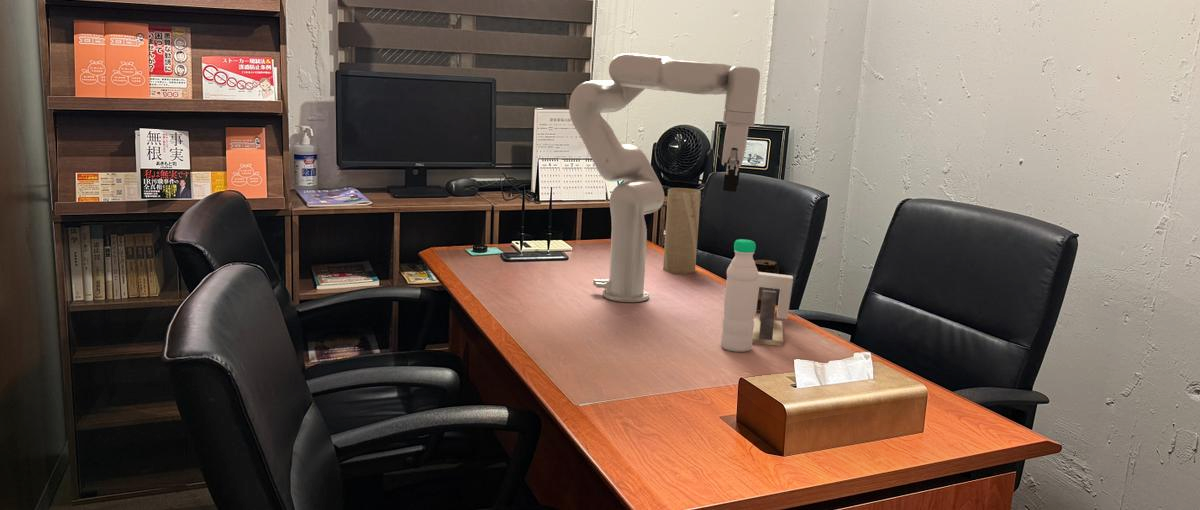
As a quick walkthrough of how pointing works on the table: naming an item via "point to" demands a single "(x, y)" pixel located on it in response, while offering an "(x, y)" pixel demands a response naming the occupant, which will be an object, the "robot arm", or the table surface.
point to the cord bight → (777, 283)
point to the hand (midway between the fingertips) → (730, 188)
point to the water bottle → (740, 298)
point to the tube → (681, 230)
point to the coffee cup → (765, 267)
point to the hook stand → (767, 321)
